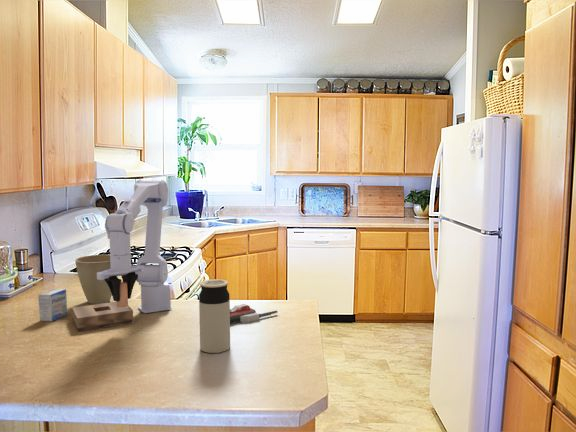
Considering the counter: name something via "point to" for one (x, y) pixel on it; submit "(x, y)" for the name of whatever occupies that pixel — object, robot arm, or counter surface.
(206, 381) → the counter surface
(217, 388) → the counter surface
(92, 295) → the plant pot
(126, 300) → the peg
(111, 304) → the socket board
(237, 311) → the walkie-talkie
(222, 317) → the travel mug
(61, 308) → the medicine box
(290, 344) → the counter surface
